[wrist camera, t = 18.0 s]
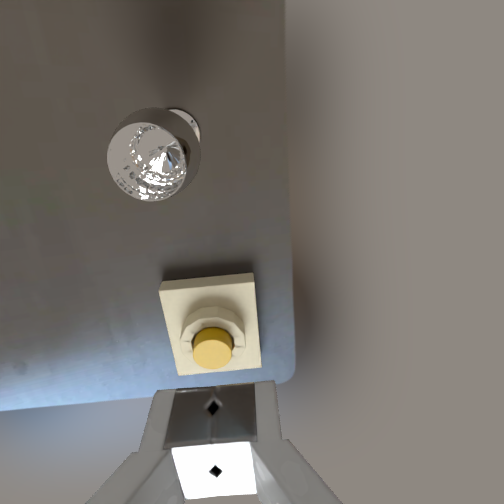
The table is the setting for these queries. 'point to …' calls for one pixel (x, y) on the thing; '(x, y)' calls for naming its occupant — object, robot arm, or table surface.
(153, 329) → the table surface
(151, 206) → the table surface
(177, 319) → the housing
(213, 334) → the yellow push button
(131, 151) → the wineglass
